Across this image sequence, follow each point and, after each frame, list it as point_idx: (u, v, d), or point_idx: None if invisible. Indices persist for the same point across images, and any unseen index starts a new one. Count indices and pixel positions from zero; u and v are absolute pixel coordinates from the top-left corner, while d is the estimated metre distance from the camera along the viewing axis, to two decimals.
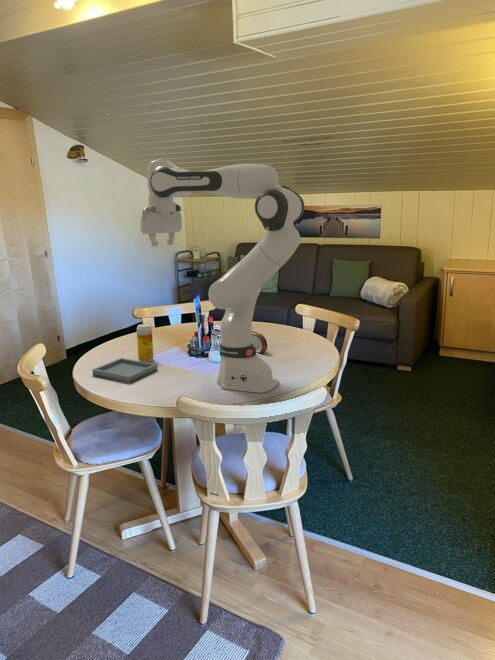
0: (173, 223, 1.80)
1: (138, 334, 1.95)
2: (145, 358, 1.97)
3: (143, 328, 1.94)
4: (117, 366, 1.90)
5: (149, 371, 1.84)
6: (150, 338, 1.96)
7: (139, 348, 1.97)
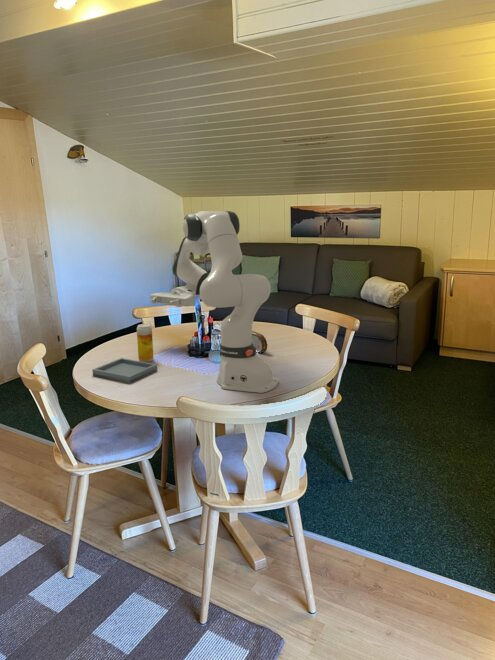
0: (180, 296, 2.09)
1: (138, 334, 1.95)
2: (145, 358, 1.97)
3: (143, 328, 1.94)
4: (117, 366, 1.90)
5: (149, 371, 1.84)
6: (150, 338, 1.96)
7: (139, 348, 1.97)
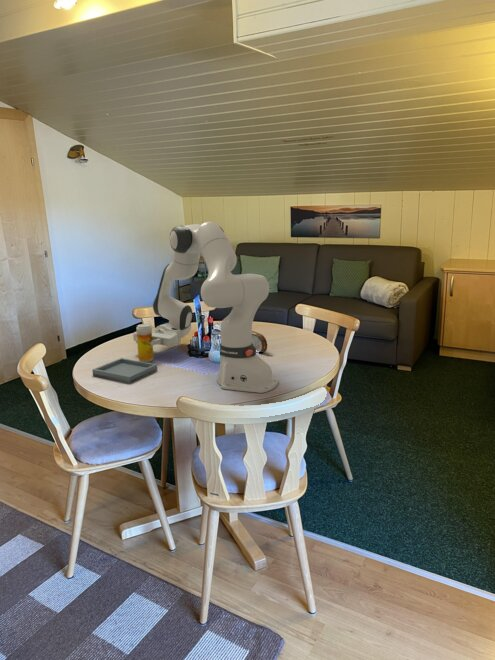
0: (164, 335, 2.02)
1: (138, 334, 1.95)
2: (145, 358, 1.97)
3: (143, 328, 1.94)
4: (117, 366, 1.90)
5: (149, 371, 1.84)
6: (150, 338, 1.96)
7: (139, 348, 1.97)
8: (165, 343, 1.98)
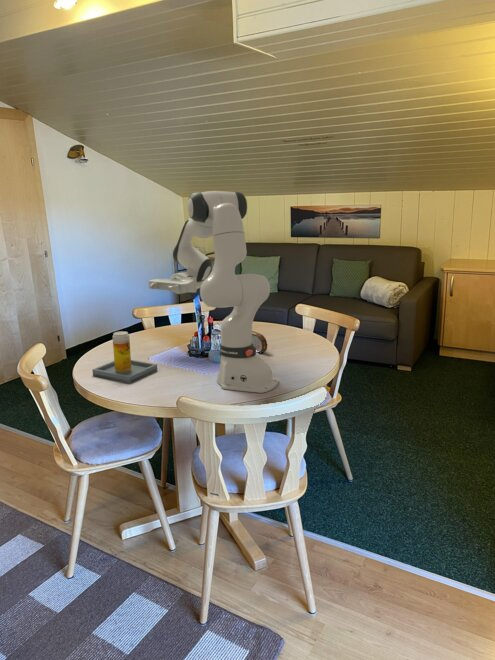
0: (180, 281, 1.99)
1: (114, 342, 1.80)
2: (122, 369, 1.81)
3: (119, 336, 1.78)
4: None
5: (149, 371, 1.84)
6: (127, 347, 1.81)
7: (115, 358, 1.81)
8: (181, 289, 1.96)
